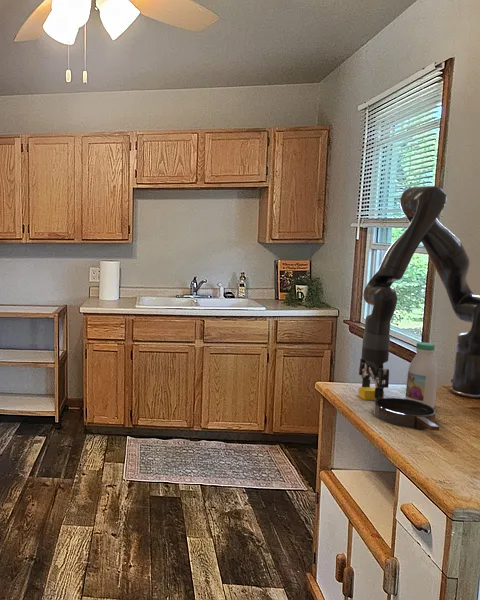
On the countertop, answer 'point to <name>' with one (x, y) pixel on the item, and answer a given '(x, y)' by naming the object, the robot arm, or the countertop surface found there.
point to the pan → (402, 411)
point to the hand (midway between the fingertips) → (371, 394)
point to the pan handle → (425, 424)
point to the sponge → (367, 393)
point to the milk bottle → (422, 375)
